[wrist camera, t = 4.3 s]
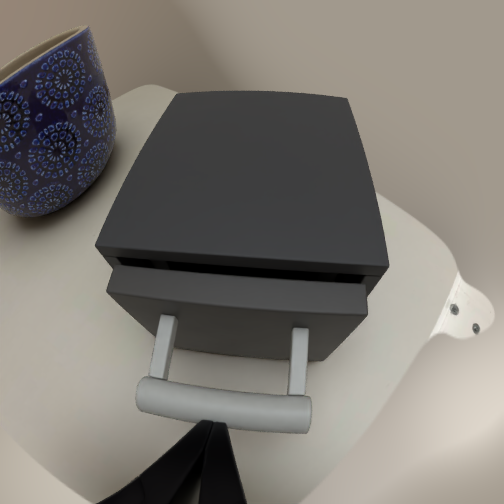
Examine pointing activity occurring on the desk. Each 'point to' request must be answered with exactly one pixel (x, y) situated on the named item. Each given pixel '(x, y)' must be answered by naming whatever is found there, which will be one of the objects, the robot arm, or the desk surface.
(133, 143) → the desk surface
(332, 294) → the drawer
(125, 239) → the cabinet
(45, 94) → the planter
